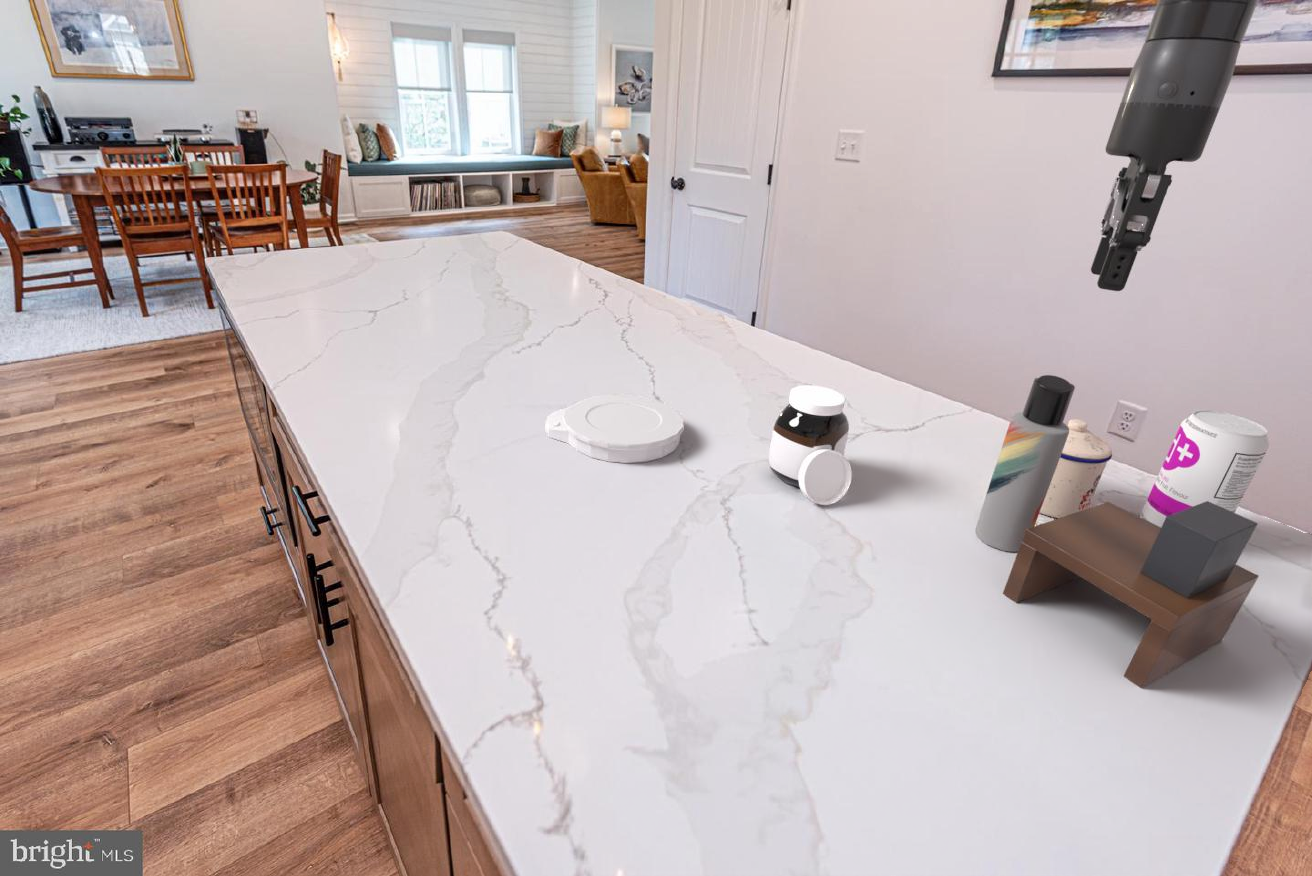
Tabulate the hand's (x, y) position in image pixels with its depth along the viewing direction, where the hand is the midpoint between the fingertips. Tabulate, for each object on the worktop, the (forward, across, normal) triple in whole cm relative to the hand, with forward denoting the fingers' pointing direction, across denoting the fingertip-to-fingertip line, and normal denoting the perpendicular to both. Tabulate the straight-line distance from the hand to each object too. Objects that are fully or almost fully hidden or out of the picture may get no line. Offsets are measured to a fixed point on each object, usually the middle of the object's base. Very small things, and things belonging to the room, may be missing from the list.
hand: (1105, 281), depth 68 cm
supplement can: (+30, +12, -18) cm, 37 cm away
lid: (+30, -4, +53) cm, 61 cm away
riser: (+30, -12, -9) cm, 34 cm away
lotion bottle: (+30, -2, +2) cm, 31 cm away
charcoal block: (+22, -14, -12) cm, 29 cm away
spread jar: (+30, -2, +24) cm, 39 cm away
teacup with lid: (+30, +12, -4) cm, 33 cm away
